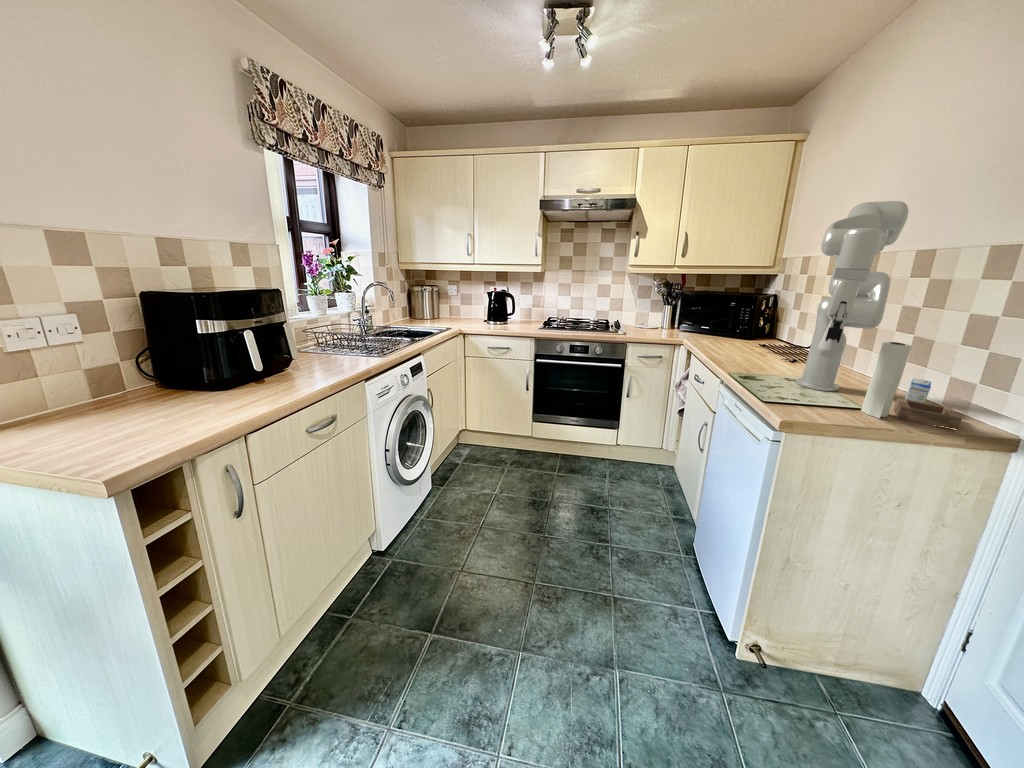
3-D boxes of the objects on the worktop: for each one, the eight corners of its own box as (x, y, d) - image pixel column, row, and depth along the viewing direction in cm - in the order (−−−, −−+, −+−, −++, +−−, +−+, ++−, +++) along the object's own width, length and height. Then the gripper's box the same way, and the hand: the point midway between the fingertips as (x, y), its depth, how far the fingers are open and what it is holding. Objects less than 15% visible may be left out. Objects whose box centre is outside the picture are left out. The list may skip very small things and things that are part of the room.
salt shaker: (844, 359, 117) (857, 314, 112) (821, 357, 118) (834, 312, 113) (833, 354, 122) (845, 311, 118) (812, 353, 123) (823, 310, 119)
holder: (893, 408, 126) (897, 397, 125) (947, 418, 119) (951, 407, 118) (898, 419, 117) (902, 407, 116) (957, 430, 110) (962, 418, 109)
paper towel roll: (866, 409, 124) (889, 340, 118) (891, 416, 119) (916, 344, 113) (854, 412, 121) (877, 341, 115) (879, 419, 116) (904, 346, 110)
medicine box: (903, 403, 132) (912, 377, 130) (922, 407, 129) (931, 381, 127) (901, 408, 127) (911, 382, 124) (921, 412, 124) (931, 385, 121)
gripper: (834, 274, 121) (817, 335, 127) (833, 276, 108) (815, 343, 114) (866, 275, 117) (847, 338, 122) (870, 277, 104) (848, 347, 110)
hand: (832, 340), depth 118 cm, fingers closed on salt shaker, 3 cm apart
